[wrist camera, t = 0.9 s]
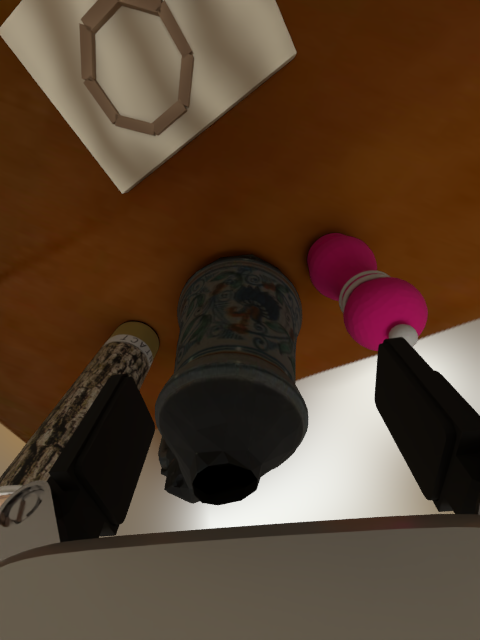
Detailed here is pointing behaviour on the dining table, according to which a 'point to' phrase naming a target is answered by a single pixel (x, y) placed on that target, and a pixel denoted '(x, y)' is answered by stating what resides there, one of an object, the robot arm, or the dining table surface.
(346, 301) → the pepper mill
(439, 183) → the dining table surface
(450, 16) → the dining table surface
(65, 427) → the paper tube
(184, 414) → the beer stein
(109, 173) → the stand
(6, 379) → the dining table surface
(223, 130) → the dining table surface
